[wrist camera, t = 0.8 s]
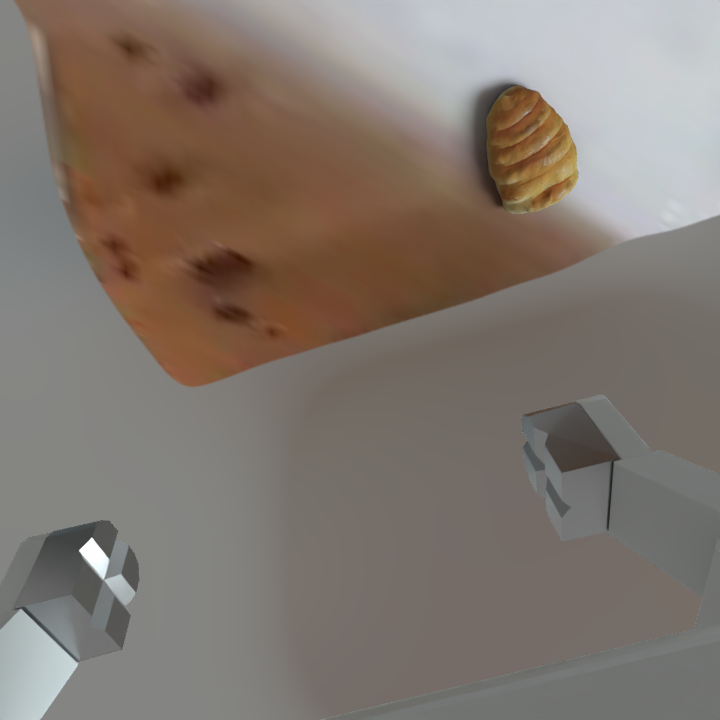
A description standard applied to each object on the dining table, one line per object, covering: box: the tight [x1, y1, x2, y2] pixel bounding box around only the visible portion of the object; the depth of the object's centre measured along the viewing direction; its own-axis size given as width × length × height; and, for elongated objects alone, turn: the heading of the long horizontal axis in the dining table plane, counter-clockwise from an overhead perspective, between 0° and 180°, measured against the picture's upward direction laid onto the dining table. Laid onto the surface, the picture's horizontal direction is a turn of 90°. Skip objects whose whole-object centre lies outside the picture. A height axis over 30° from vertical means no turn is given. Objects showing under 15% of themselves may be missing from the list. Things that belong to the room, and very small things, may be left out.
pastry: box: [486, 85, 578, 214], centre depth 42 cm, size 9×7×4 cm
